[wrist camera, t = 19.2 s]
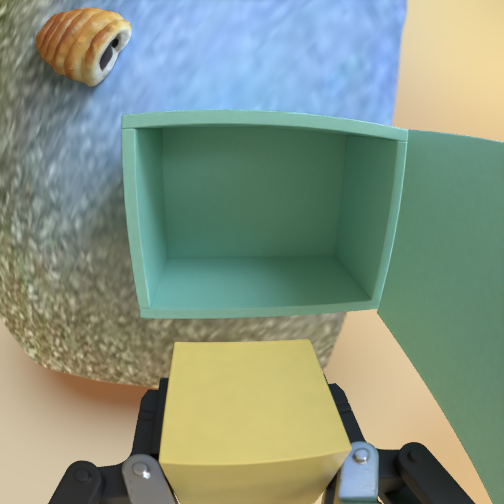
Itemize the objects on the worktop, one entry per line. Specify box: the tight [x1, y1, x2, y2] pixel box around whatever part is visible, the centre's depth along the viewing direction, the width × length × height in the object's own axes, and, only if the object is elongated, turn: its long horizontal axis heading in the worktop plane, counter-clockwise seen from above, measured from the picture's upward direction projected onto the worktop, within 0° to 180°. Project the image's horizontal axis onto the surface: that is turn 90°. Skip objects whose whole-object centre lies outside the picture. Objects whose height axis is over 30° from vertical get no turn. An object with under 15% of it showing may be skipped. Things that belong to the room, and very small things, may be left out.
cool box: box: [121, 109, 408, 319], centre depth 21 cm, size 17×13×9 cm
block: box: [159, 339, 352, 504], centre depth 9 cm, size 5×5×5 cm
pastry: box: [36, 8, 132, 87], centre depth 16 cm, size 9×7×4 cm
